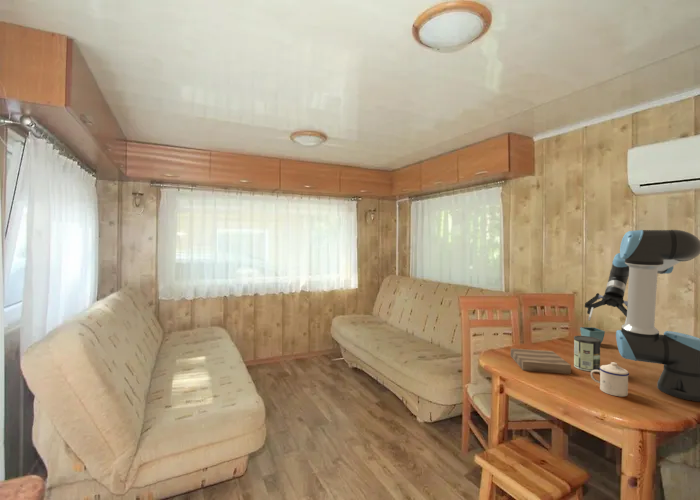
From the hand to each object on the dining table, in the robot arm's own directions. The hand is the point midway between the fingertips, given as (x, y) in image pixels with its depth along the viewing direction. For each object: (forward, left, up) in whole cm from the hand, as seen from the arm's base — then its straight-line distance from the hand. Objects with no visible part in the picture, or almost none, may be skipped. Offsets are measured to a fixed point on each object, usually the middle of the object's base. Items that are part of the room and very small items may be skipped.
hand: (606, 323), depth 155 cm
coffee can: (-2, +9, -21) cm, 23 cm away
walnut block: (-2, +30, -21) cm, 37 cm away
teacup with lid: (-28, +13, -21) cm, 38 cm away
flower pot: (+42, -14, -21) cm, 49 cm away
